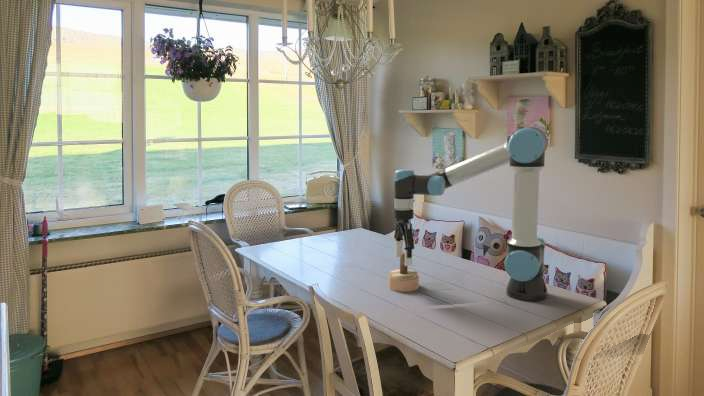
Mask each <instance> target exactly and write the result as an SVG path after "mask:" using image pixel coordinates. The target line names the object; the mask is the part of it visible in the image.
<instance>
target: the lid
mask: <svg viewBox="0 0 704 396" xmlns="http://www.w3.org/2000/svg"><path fill="white" fill-rule="evenodd" d="M389 274H390V277H391V278H393V279H397V280H412V279H415V278H417V275H419V274H418V272H417V271H415V270H413V269H408V266H405V252H403V253H400V257H399V269H394V270H391V271H390V272H389Z"/></svg>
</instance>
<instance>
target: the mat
mask: <svg viewBox="0 0 704 396" xmlns="http://www.w3.org/2000/svg"><path fill="white" fill-rule="evenodd" d="M419 285H421V286H423V288H425V290H427V292H433V291H447V290H449V291H450V290H452V288H451V286H449V285H448V284H447V283H446V282H445V281H433V282H419Z"/></svg>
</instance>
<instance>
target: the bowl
mask: <svg viewBox="0 0 704 396" xmlns="http://www.w3.org/2000/svg"><path fill="white" fill-rule="evenodd" d="M387 287H388V288H389V290H392V291H395V292H401V293H402V292H403V293H404V292H414V291H417V290H418V289H419V288H420V276H419V274H417V278H415V279H412V280H397V279H393V278H391V277H390V273H389V274H388V275H387Z"/></svg>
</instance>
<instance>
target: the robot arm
mask: <svg viewBox="0 0 704 396" xmlns="http://www.w3.org/2000/svg"><path fill="white" fill-rule="evenodd" d="M548 142H549V140H548V137H547V135H546V134H545V132H543V130H541V129H540V128H537V127H532V126H531V127H530V126H529V127H522V128H520V129H517V130H516V131H514V132H513V133H512V135H511V136H510V138H507V139H506V140H505V142H504V143H502V144H499V145H498V146H494V147H493V148H490V149H488V150H486V151H484V152H483V151H482V153H479V154H477V155H474V156H471V157H469V158H467V159H465V160H461V161H460V162H458V163H456V164H453V165H451V166H448V167H446V168H443V169H441V170H439V171H437V172H436V171H435V172H434V173H431V174H428V175H425V174H424V175H421V174H419V175H418V174H417V175H416V174H415V172H414V170H413V169H407V168H400V169H397V170H395V172H394V181H393V182H394V184H393V185H394V199H393V200H394V201H393V204H394V206H393V207H394V209H393V212H394V219H395V220H396V221H395V229H394V236H393V238H394V239H395V240H394V241H395V257H396V258H400V253H405V266H409V267H410V266H413V250H414V249H415V243H414V234H413V223H410V220H412V219H414V203H416V202H415V197H414V196H415V195H423V196H432V197H435V196H443V195H444V192H445V190H446V189H448V188H450V187H453V186H455V185H458V184H460V183H463V182H466V181H468V180H470V179H474V178H475V177H478V176H480V175H482V174H485V173H489V172H491V171H493V170H495V169H498V168H501V167H503V166H505V165H508V164H509V168H510V169H512V171H513V184H512V185H513V186H512V187H513V189H512V214H511V215H512V218H511V237H510V238H509V239H507V240H506V256H505V258H504V269H505V271H506V274H507V275H509V277H510V278H509V279H508V280H509V281H508V283H507V285H506V292H505V293H506V295H507V296H509V297H510V298H513V299H515V300H520V301H527V302H531V301H532V302H533V301H534V302H535V301H536V302H537V301H543V300H545V299H547V298H548V288H547V285H546V281H545V279H544V270H545V269H544V268H545V266H544V265H545V263H544V262H545V248H546V242H545V239H544V238H543V237H538V216H539V215H538V214H539V212H538V211H539V189H540V172H541V170H542V169H544V168H545V155H546V151H547V149H548ZM403 242H404V247H403ZM403 248H404V250H403ZM403 251H404V252H403Z"/></svg>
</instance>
